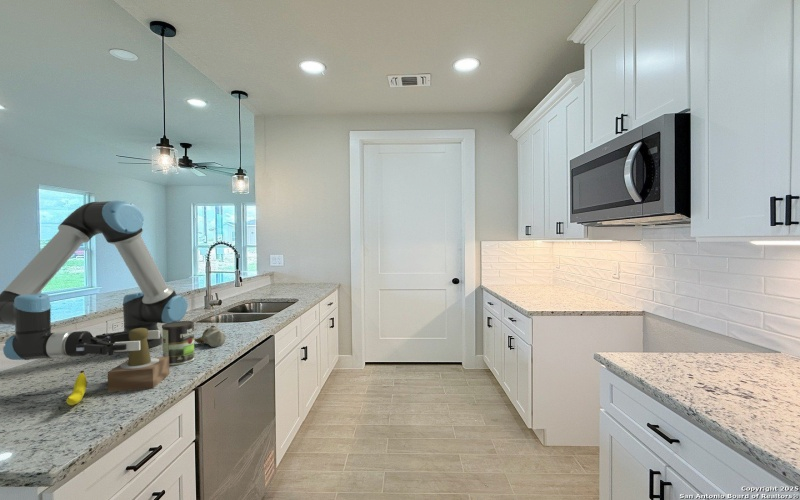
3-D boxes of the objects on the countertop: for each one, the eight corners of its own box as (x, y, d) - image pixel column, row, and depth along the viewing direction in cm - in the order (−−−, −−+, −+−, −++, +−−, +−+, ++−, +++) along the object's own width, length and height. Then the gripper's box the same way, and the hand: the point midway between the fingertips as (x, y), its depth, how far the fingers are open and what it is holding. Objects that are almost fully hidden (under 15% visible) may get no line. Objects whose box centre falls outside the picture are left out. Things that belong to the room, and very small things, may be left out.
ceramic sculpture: (205, 329, 147) (192, 325, 157) (206, 350, 147) (192, 345, 157) (232, 324, 155) (217, 321, 165) (232, 344, 155) (218, 340, 165)
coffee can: (201, 357, 139) (200, 321, 139) (180, 366, 129) (179, 327, 129) (178, 355, 141) (177, 320, 141) (155, 364, 131) (154, 326, 131)
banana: (61, 418, 92) (60, 394, 91) (76, 392, 107) (75, 371, 107) (76, 415, 93) (75, 391, 93) (89, 390, 109) (88, 369, 109)
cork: (125, 367, 110) (124, 331, 110) (129, 361, 116) (128, 327, 115) (149, 364, 113) (148, 329, 113) (152, 358, 119) (151, 325, 118)
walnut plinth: (129, 377, 119) (128, 358, 119) (169, 373, 122) (169, 355, 122) (108, 391, 108) (107, 371, 107) (153, 388, 110) (152, 367, 110)
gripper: (96, 344, 123) (166, 340, 127) (41, 370, 99) (130, 364, 103) (96, 323, 122) (166, 319, 127) (40, 343, 98) (129, 338, 103)
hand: (150, 339), depth 115 cm, fingers open, 12 cm apart
